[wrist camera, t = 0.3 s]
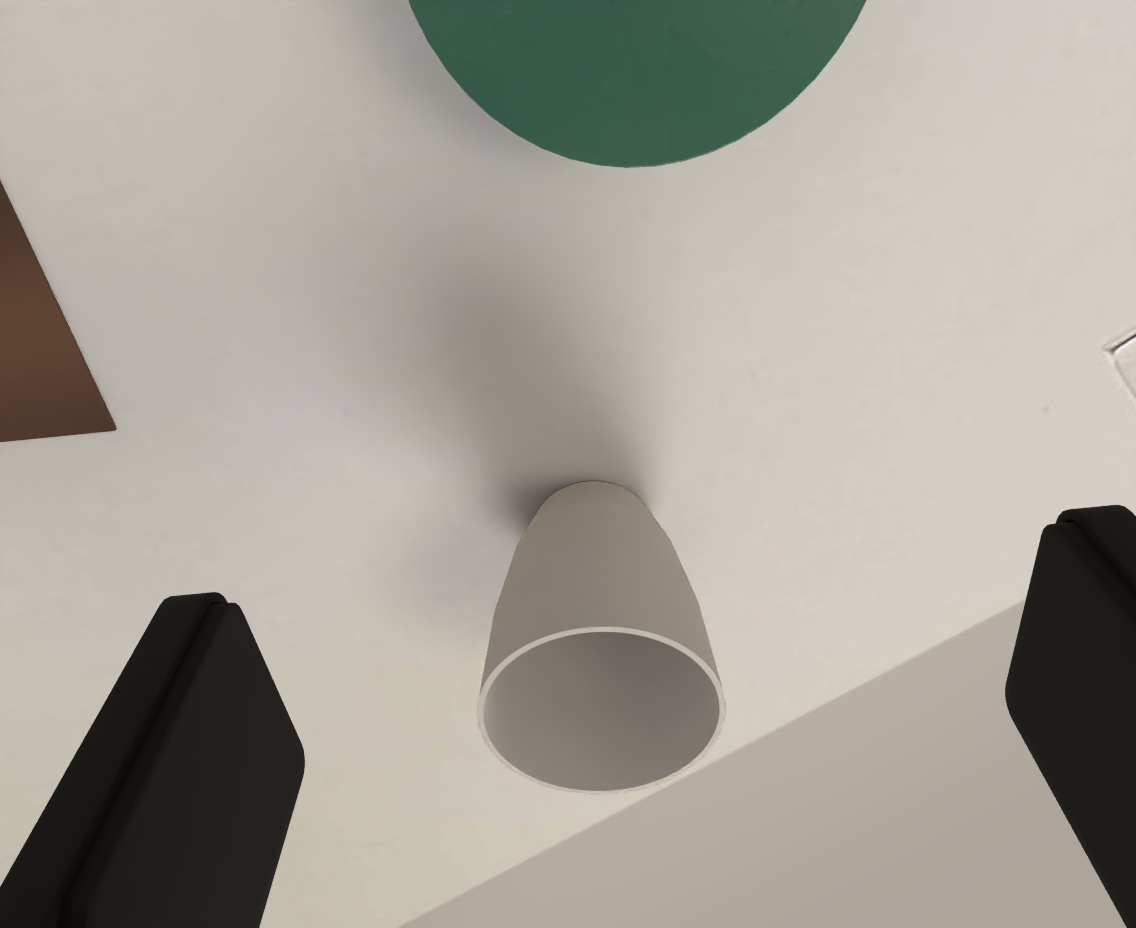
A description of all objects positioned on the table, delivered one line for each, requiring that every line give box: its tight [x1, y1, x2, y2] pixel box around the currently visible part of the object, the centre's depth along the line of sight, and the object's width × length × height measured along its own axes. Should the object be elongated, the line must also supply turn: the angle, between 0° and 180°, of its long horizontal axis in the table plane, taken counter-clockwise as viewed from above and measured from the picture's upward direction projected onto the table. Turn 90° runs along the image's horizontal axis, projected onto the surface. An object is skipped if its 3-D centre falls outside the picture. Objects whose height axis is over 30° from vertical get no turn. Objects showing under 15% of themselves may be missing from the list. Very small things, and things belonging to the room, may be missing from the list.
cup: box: [477, 481, 726, 794], centre depth 32 cm, size 8×8×10 cm
